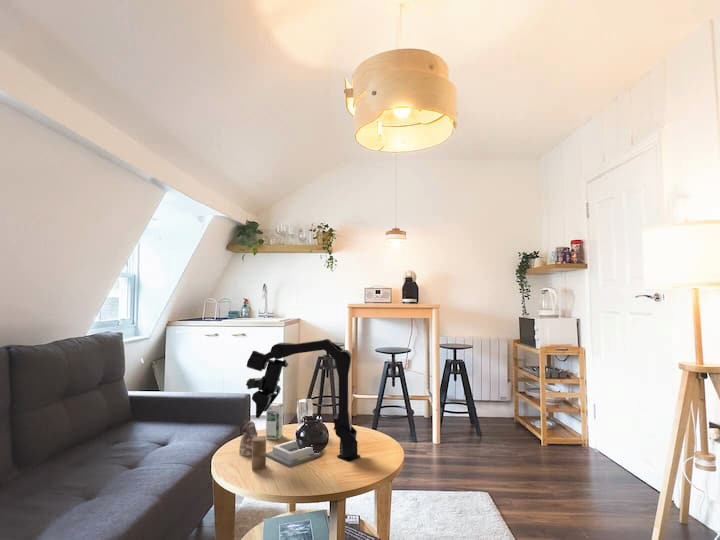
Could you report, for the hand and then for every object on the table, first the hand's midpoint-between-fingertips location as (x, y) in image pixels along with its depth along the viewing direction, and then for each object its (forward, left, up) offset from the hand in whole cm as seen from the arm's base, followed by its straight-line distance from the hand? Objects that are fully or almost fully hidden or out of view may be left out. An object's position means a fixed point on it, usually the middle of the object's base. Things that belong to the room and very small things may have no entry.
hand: (260, 414), depth 156 cm
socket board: (-10, -8, -15) cm, 20 cm away
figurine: (+5, +2, -15) cm, 16 cm away
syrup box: (+13, -15, -15) cm, 26 cm away
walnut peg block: (-10, +7, -15) cm, 19 cm away
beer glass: (+6, -26, -15) cm, 31 cm away
